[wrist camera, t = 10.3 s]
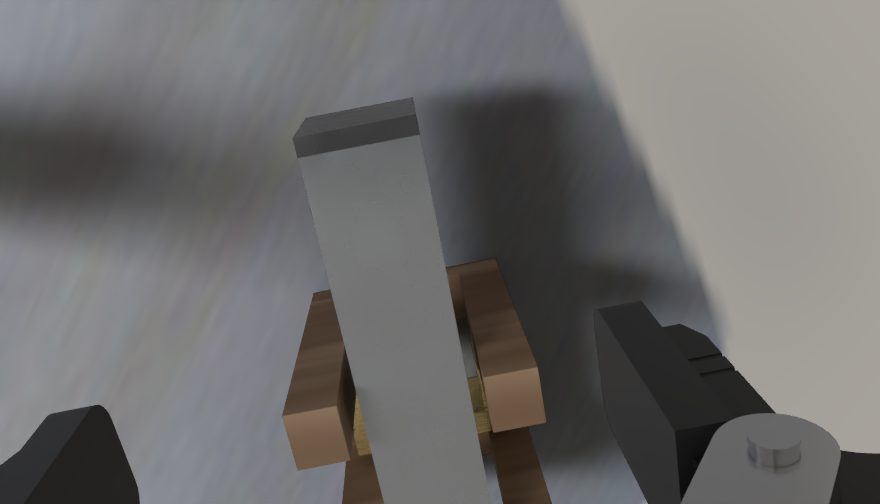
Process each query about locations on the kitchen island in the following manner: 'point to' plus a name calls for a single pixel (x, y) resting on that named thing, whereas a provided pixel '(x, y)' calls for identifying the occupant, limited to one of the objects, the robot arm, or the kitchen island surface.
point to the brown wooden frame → (501, 370)
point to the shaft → (393, 300)
